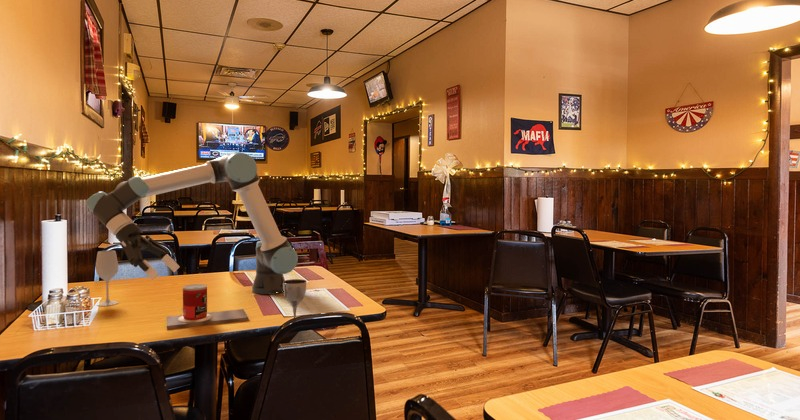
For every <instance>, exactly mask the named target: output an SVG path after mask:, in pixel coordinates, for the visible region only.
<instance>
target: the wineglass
mask: <svg viewBox="0 0 800 420" xmlns="http://www.w3.org/2000/svg"><path fill="white" fill-rule="evenodd" d="M117 256H118V255H117V252H116V250H111V249H110V250H109V249H108V250H99V251H97V254H96V260H95V273H96V274H97V276H98V277H99V279H100V278H101V279H102V280H103V281H105V288H106V290H105V291H106V294H105V295H106V299H105V300H104V301H102V302H99V306H98V307H110V306H115V304H116V305H117V304H119V301H116V300H110V298H109V297H110V296H109V295H110V294H109V292H110V291H109V283H110V280H112V279H113V278H114V277H115V276H116V275H117V274H118V271H119V262H118V257H117Z"/></svg>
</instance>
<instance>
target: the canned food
mask: <svg viewBox="0 0 800 420" xmlns="http://www.w3.org/2000/svg"><path fill="white" fill-rule="evenodd" d="M207 313H208V285H207V284H201V283H195V284H194V283H193V284H186V285H184V286H183V287H182V315H183V317H184V319H186V320H199V319H203V318H205V317H206V316H207Z"/></svg>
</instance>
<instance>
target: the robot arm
mask: <svg viewBox="0 0 800 420" xmlns="http://www.w3.org/2000/svg"><path fill="white" fill-rule="evenodd" d="M260 180H261V179H260V177H259V174H258V165H257V163H256V160H255V159H254V158H253V157H252V156H251V155H249V154H247V153H244V152H234V153H228V154H225V155H223V156H220V157H218V158H215V159H212V160H211V159H210V160H206V162H205V163H204V164H200V165H196V166H191V167H186V168H181V169H177V170H173V171H168V172H162V173H158V174H155V175H154V174H153V175H149V176H146V177H145V176H144V177H141V176H139V175H134V176H132V177H130V178H129V179H128V180H126V181H121V182H119V183H118V184H117V185H116V187H115V189H114V190H112V191H111V192H109V193H106V192H104V191H98V192H96V193H94V194H91V196H89V197H88V199H87V200H86V201H85V205H86V207H87V209H88V210H89V211H90V212H91V213H92V214H93V216H95V218H96V219H98V220H99V222H100V223H101V224H102V225H103V226H104V227H105V228H107V229H108V231H109V233H111V234H112V235H113V236H115V238H116V239H117V240H118V241H119V242H120V243H119V245H120V247H121V248H122V249H123V252H124V253H125V255H126V258H127V260H128V261H129V263H130V265H131V266H133V267H135V268H137V267H139V268H140V269H141V270H142V271H143V272H144V273H145V274H146V275H147V276H148V277H149V278H150V279H151V280H154V279H155V278H156V277H157V276H158V275H159V272H158V271H157V270H156V269H155V268H154V267H153V266H152V265H151V264H150V263H149V262H148V261H147V260H146V259H144V258H143V254H142V251H144V252H149V253H152V254H153V255H155V256H157V257H159V258H161V261H162V262H163V263H164V264H165V265H166V266H167V267H168V268H169V269H170V270H171V271H172V272H173V273H175V272H176V271H177V270H178V269H179V268H180V265H179V264H178V263H177V262H176V261H175V260H174V259H173V258H172V257H171V256H170V255H169V254H170V251H171V250H170V249H167V248H166V247H164V245H162V244H160V243H159V242H157V241H156V240H154V239H152V237H151V236H150V235H148V234H146V236H142V235H141V233H142V230H141V228H140V226H138V225H137V224H136V223H134V221H133V219H132V218H130V217H129V216H128V214H126V213H125V212H124V211H125V210H126V209H127V208H129V207H130V206H132V205H134V204H135V203H136V202H138V201H139V200H141V199H143V198H147V197H153V196H156V195H161V194H164V193H168V192H173V191H177V190H181V189H185V188H190V187H193V186H198V185H202V184H207V183H211V184H217V183H225V182H226V183H228V184H229V187H230V189H231V190H232V192H236V193H237V195H238V196H239V198H240V200H241V202H242V204H243V206H244V209H245V211H246V213H247V216H248V218H249V219H250V221H251V224H252V225H253V228H254V230H255V232H256V234H257V236H258V239H259V240H260V241H257V242H256V246H255V277H254V279H253V283H252V285H251V292H252V293H253V292H254V294H257V293H259V294H258V295H269V294H268V293H276V292H282V291H283V281H285V280H286V279H285V277H284V275H286V274H289V273H291V272H292V271H293V270H295V268H296V267H297V264H298V262H299V261H298V260H299V258H298V257H299V256H298V252H297V251H296V250H295V249H294V248H292V247H291V245H290V242H289V241H288V238H287V237H286V236H284V235H282V234H281V232H280V230H279V228H278V225H277V223H276V221H275V219H274V217H273V214H272V213H271V209H270V208H269V205H268V204H267V201H266V199H265V197H264V195H263V192H262V190H261V188H260V186H259V182H260ZM282 293H283V292H282Z"/></svg>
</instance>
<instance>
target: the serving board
mask: <svg viewBox="0 0 800 420" xmlns="http://www.w3.org/2000/svg"><path fill="white" fill-rule="evenodd" d="M246 320H248V321H249V316H248V314H247V313H246V311H245V309H244V308H242V309H232V310H231V309H230V310H222V311H221V310H219V311H211V312H207V316H206V317H205V318H203V319H199V320H186V319H184V317H183V314H181V315H180V314H179V315H171V316H170V315H169V316H166V330H174V329H176V330H177V329H184V328H192V327H194V328H195V327H203V326H211V325H219V324H220V325H221V324H222V325H223V324H230V323H238V322H239V321H240V322H247V321H246Z"/></svg>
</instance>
